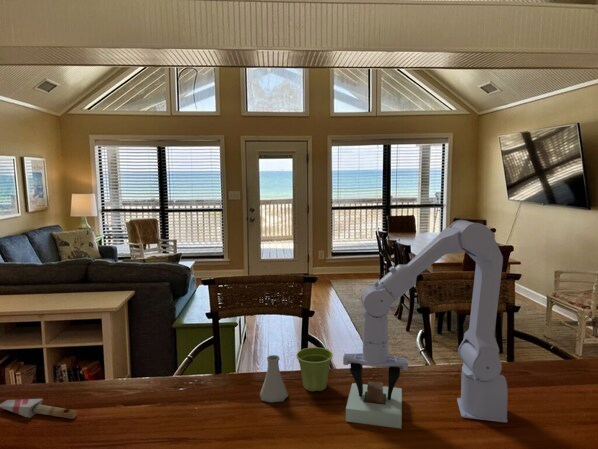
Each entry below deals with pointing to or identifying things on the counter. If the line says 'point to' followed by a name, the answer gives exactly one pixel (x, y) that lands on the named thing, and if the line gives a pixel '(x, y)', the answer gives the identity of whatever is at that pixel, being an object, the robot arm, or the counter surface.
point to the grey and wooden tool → (36, 408)
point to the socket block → (375, 408)
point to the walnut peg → (375, 392)
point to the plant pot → (314, 367)
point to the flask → (273, 382)
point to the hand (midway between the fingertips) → (375, 396)
